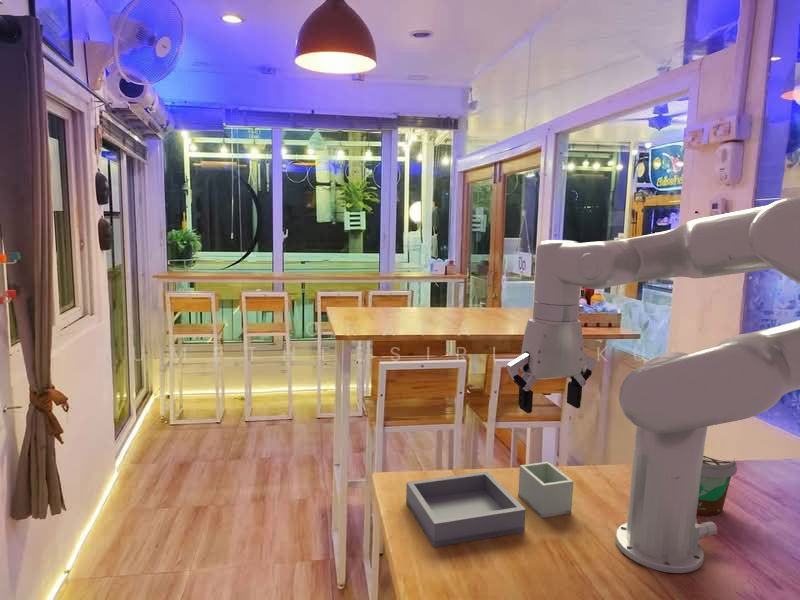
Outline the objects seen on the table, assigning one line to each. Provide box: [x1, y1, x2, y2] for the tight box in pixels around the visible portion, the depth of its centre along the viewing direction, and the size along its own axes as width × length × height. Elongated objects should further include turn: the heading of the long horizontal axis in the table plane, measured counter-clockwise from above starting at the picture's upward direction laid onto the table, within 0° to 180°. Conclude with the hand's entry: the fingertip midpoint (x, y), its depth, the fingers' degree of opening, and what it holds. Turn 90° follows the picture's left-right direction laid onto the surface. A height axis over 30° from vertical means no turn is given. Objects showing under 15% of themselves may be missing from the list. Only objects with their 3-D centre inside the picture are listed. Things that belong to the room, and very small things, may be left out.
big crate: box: [405, 471, 527, 548], centre depth 96 cm, size 16×14×4 cm
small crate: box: [517, 461, 574, 519], centre depth 100 cm, size 6×8×6 cm
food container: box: [696, 455, 738, 518], centre depth 99 cm, size 12×6×10 cm, turn 62°
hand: (549, 408), depth 98 cm, fingers open, 9 cm apart
